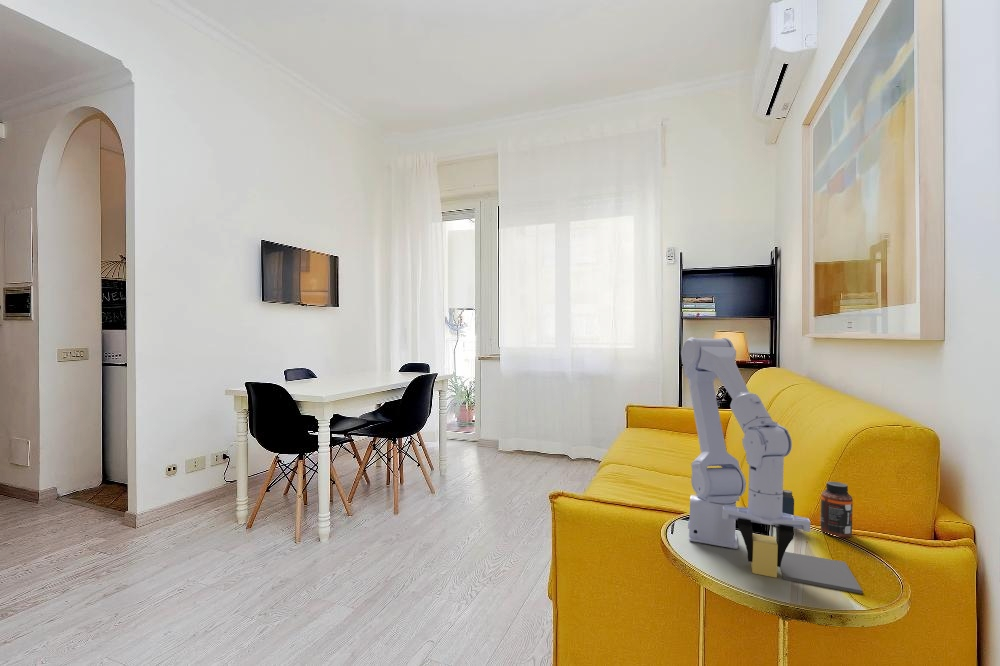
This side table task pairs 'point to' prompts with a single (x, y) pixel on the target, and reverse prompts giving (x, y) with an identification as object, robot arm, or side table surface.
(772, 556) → the mustard block
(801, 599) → the side table surface
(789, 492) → the vaping device
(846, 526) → the supplement bottle
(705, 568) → the side table surface
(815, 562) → the charcoal mat
